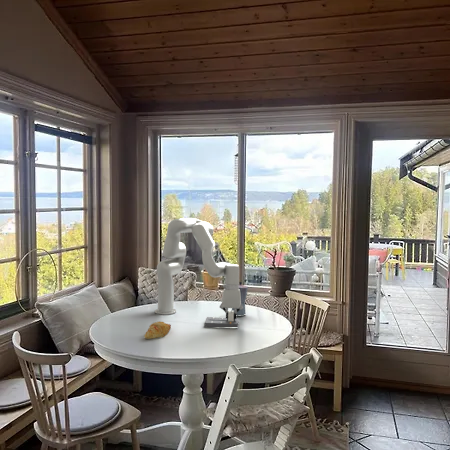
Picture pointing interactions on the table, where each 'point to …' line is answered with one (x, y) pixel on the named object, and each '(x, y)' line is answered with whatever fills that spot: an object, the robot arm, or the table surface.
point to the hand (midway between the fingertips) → (231, 319)
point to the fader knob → (230, 315)
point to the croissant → (157, 330)
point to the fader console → (220, 322)
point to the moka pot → (242, 298)
